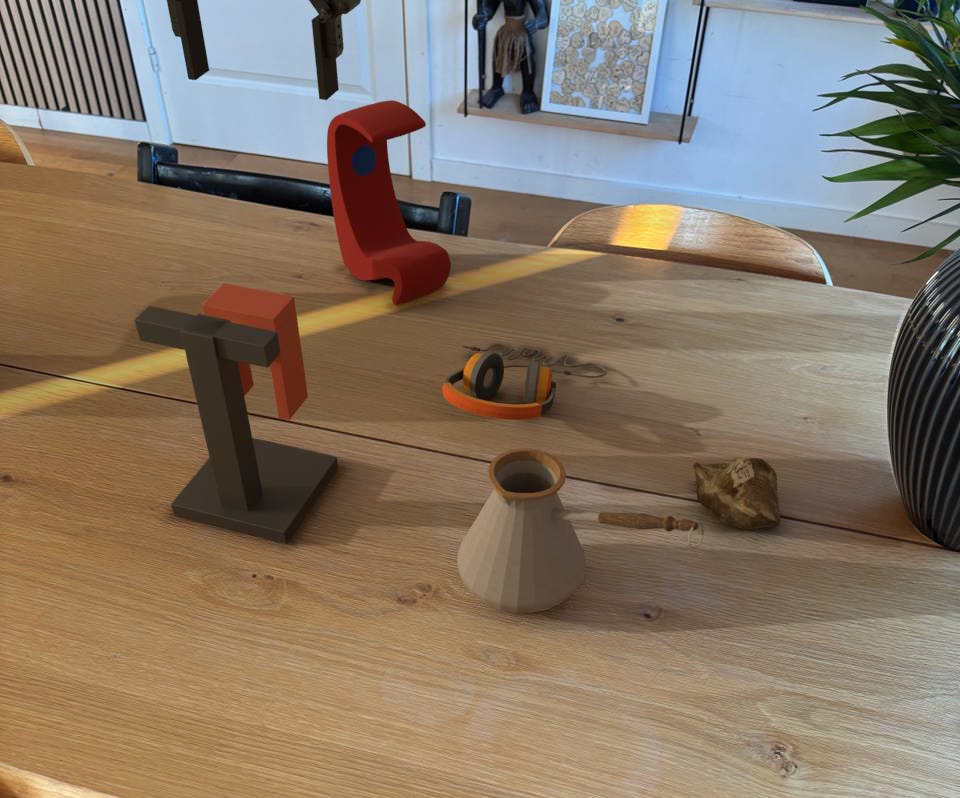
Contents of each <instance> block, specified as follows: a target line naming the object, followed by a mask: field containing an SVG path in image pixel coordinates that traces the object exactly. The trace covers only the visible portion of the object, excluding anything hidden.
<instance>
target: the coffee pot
mask: <svg viewBox="0 0 960 798" xmlns="http://www.w3.org/2000/svg"><path fill="white" fill-rule="evenodd" d="M566 478H567V473H566V468H565V467H564V464H563V463H562V461H560V459H558V458H557V457H556V455H555V456H554V455H553V454H551V453H549V452H547V451H544V450H541V449H537V448H529V447H527V448H526V447H524V448H523V447H521V448H513V449H509V450H507V451H504V452H501V453H500V454H499V455H497V456H496V457H494V458H493V460H492V461H491V462H490V463H489V466H488V467H487V479H488V481H489V483H490V485H491V486H492V488H493V490H492V492H491V493H490V495H489V497H488V498H487V500H486V502H485V503H484V505H483V507H482V508H481V510H480V511H479V513H478V515H477V517H476V518H475V520H474V522H473V523H472V525H471V527H470V528H469V530H468V531H467V533H466V534H465V537H463V539H462V540H461V543H460V546H459V549H458V552H457V554H456V563H457V571H458V573H459V575H460V579H461V580H462V582H463V583H464V585H465V586H466V588H467V589H468V591H470V592H471V594H472V595H473V596H474V597H475V598H477V599H478V600H479V601H481V602H483V603H484V604H486V605H488V606H490V607H493V608H495V609H498V610H500V611H503V612H506V613H512V614H533V613H538V612H542V611H546V610H549V609H551V608H554V607H555V606H557V605H560V604H562V603H563V602H564V601H566V600H567V599H568V598H569V597H570V596H572V594H574V592H576V590H577V589H578V587H579V585H580V584H581V582H582V581H583V579H584V577H585V572H586V567H587V563H586V556H585V551H584V548H583V547H582V544H581V542H580V540H579V537H578V535H577V533H576V531H575V528H574V526H573V525H572V521H573V522H586V523H588V522H589V523H599V524H603V525H610V526H616V527H623V528H630V529H636V530H641V531H642V530H644V531H645V530H655V529H657V530H658V529H664V531H665V532H667V533H671V532H672V531H674V530H680V531H682V532H683V531H684V532H688V534H687V545H688V547H689V548H690V549H694V550H695V549H697V548H699V547H700V546H701V544H702V542H703V538H704V535H705V527H704V524H703V523H701V522H696V521H693V520H692V519H691V520H690V519H686V518H683V519H676V518H675V517H674V516H673V515H667V516H666V517H665V518H664V517H660V516H656V515H652V514H648V513H644V512H642V513H641V512H603V511H602V512H594V511H586V510H585V511H584V510H576V509H566V508H565V507H564V505H563V501H562V500H561V498H560V496H559V493H558V492H559V491H560V490H561V489H562V487H563V486H564V485H565V483H566ZM699 527H700V537H699V540H698V542H697V544H696V545H694V546H692V544H691V536H692V533H693V531H696V530H698V528H699Z"/></svg>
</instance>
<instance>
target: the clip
mask: <svg viewBox="0 0 960 798" xmlns="http://www.w3.org/2000/svg"><path fill="white" fill-rule="evenodd" d="M201 306H202V312H203V315H208V316H213V317H217V318H222V319H227V320H230V322H232V323H236V324H241V325H246V326H251V327H256V328H261V329H266V330H271V331H275V332H278V338H279V345H280V352H281V353H280V354H279V355H278V357H277V358H276V359H275V360H274V361H273V362H272V364H271V365H270V366H269V368H270V373H271V380H272V385H273V392H274V397H275V403H276V409H277V415H278V416H277V417H278V418H279V419H284V420H288V421H290V420H292V418H293V417H294V416H295V414H296V413H297V411H299V409H300V408H301V406H302V405H303V404H304V403H305V402H306V400H307V399H308V398H309V393H308V386H307V379H306V372H305V371H306V370H305V364H304V357H303V350H302V343H301V335H300V329H299V323H298V315H297V308H296V301H295V296H293V295H288V294H285V293H278V292H273V291H267V290H261V289H257V288H252V287H247V286H241V285H235V284H230V283H225V282H224V283H222V285H220V286H219V287H218V288H217V289H216V290H215V291H214V292H213V293H212V294H211V295H210V296H209V297H208V298H207V299H206V300H204V301H203V303H202V304H201ZM238 365H239V370H240V375H241V381H242V386H243V391H244V397H245V396H246V395H247V394H248V393H249V392H250V391H251V390H252V388H253V387H254V386H255V384H254V383H255V382H254V377H253V373H252V367H251V364H247V363H243V362H238Z"/></svg>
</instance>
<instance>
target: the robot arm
mask: <svg viewBox="0 0 960 798" xmlns="http://www.w3.org/2000/svg"><path fill="white" fill-rule="evenodd" d="M308 1H309V3H310V4H311V5H312V7H313V8H314V10H315V11H316V13H317V14H318V15H316V16H315V17H313V18H312V19H311V28H312V39H313V40H312V41H313V50H314V51H313V52H314V60H315V71H316V81H317V91H318V99H319V100H323V101H328V100H329V99H330V98H331V97H332V96H334V94H335V93H337V92H338V91H339V89H340V87H339V77H338V66H337V65H338V64H337V59H338V58H339V57H340V56H342V54H343V52H344V48H345V46H344V45H345V44H344V36H343V33H344V32H343V22H342V21H343V19H342V16H343V15H348V14H349V13H350V12H351V11H353V10H354V9H355V8H357V7H358V6H359V5H361V1H362V0H308ZM166 4H167V9H168V14H169V15H168V16H169V18H170V24H171V25H170V26H171V30H172V33H173V35H174V36H175V37H177V38H180V42H181V46H182V47H181V48H182V52H183V57H184V63H185V69H186V73H187V78H188V80H191V81H197V80H198V79H199V78H201V77H202V76H203V75H205V74H207V73H208V72H210V66H209V59H208V54H207V49H206V43H205V36H204V31H203V25H202V20H201V13H200V7H199V2H198V0H166Z"/></svg>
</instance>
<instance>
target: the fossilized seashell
mask: <svg viewBox="0 0 960 798" xmlns="http://www.w3.org/2000/svg"><path fill="white" fill-rule="evenodd" d="M692 470H693V471H694V477H695V485H696V487H695V488H696V498H697V501H698V502H699V504H700V505H701V506H702V507H704V509H706V510H709V511H711V514H713V516H714V517H715V518H716V519H717V520H718V521H720V522H722V523H723V524H725V525H727V526H728V525H729V526H731V527H734V528H739V529H746V530H753V529H754V530H755V529H760V528H768V527H769V528H770V527H775V528H776V527H778V526H780V524H781V522H782V521H781V511H780V505H779V496H778V476H777V472H776V471H775V469H774V468H772V466H771V465H770V464H769V462H767V461H766V460H764V459H763V458H760V457H747V458H744V457H741V456H736V457H734V458H733V460H732V461H731V462H728V463H727V462H717V463H700V462H698V461H695V462H693V464H692Z"/></svg>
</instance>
